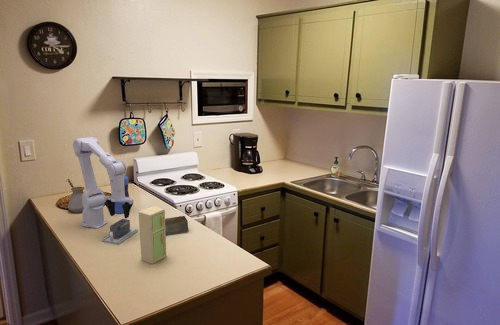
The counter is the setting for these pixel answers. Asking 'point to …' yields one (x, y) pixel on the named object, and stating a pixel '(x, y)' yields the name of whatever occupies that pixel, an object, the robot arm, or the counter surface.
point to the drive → (120, 228)
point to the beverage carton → (176, 225)
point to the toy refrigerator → (152, 234)
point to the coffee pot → (76, 199)
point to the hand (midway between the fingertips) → (119, 216)
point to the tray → (118, 241)
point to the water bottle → (119, 204)
